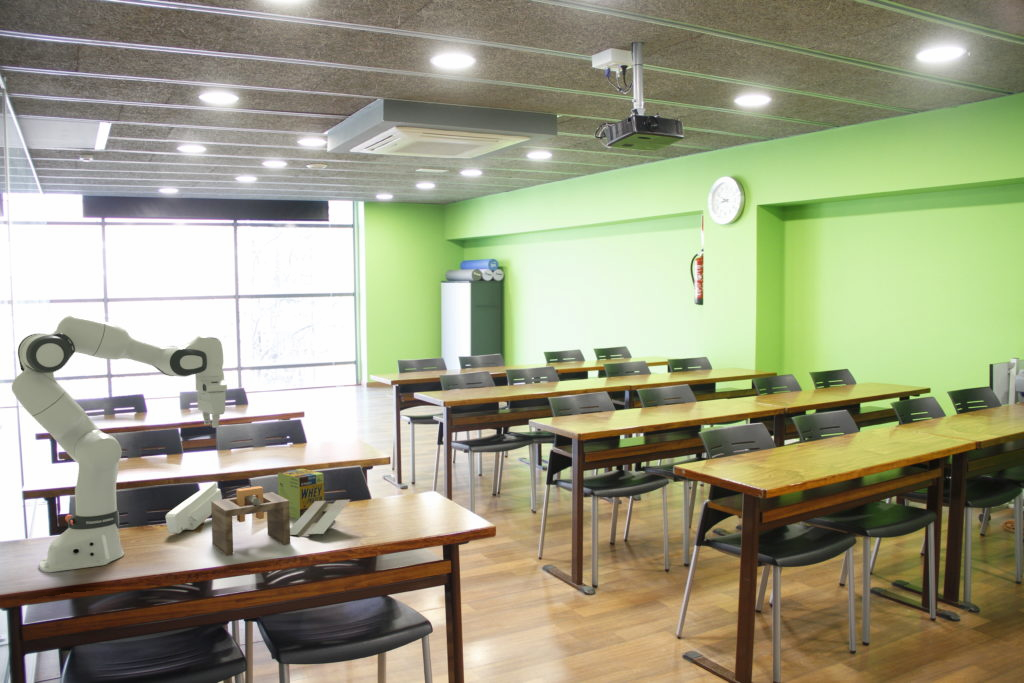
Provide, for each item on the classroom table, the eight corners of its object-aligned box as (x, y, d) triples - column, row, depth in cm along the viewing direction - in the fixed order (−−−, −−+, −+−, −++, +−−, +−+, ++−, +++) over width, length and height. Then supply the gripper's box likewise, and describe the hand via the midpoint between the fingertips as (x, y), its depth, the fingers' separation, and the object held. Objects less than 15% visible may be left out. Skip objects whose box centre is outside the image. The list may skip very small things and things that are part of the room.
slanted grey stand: (340, 551, 256) (362, 508, 267) (323, 533, 251) (345, 491, 262) (301, 551, 265) (323, 510, 277) (283, 535, 260) (307, 494, 272)
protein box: (300, 520, 278) (299, 477, 278) (278, 513, 289) (277, 472, 288) (325, 514, 286) (324, 473, 285) (302, 508, 296) (301, 467, 296)
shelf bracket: (226, 516, 287) (221, 482, 284) (184, 552, 261) (177, 515, 258) (212, 515, 288) (207, 481, 285) (168, 551, 262) (161, 514, 259)
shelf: (226, 555, 237) (225, 504, 237) (212, 544, 250) (210, 494, 250) (290, 543, 249) (289, 494, 249) (273, 533, 262) (272, 486, 262)
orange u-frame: (239, 522, 246) (239, 491, 246) (237, 520, 248) (236, 489, 248) (263, 518, 250) (263, 487, 250) (260, 516, 253) (260, 486, 253)
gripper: (192, 383, 264) (193, 423, 265) (208, 387, 248) (209, 430, 248) (211, 382, 268) (212, 422, 268) (228, 385, 251) (229, 428, 252)
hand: (211, 426), depth 258 cm, fingers open, 8 cm apart
